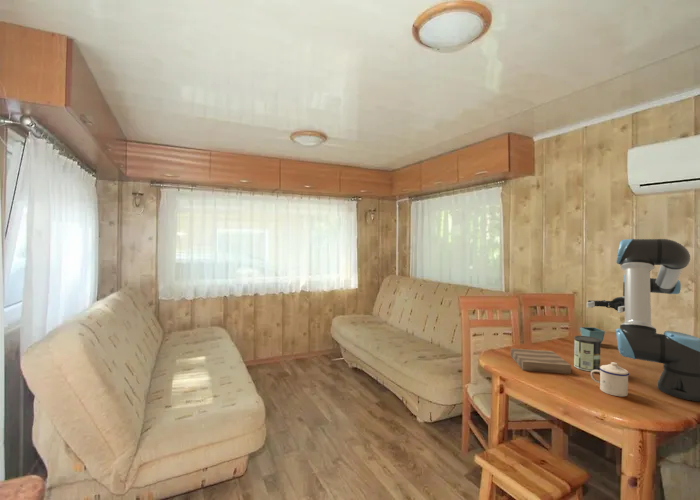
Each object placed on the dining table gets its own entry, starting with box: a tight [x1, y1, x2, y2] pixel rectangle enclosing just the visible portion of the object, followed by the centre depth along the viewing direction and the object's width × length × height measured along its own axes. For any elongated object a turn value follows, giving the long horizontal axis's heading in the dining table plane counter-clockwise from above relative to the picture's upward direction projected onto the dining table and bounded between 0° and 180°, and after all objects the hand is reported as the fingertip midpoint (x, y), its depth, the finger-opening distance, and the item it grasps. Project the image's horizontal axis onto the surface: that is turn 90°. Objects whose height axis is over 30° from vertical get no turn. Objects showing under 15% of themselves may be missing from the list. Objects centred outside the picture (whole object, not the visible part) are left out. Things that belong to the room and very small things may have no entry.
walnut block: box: [510, 348, 572, 375], centre depth 159 cm, size 20×20×4 cm
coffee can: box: [573, 335, 602, 373], centre depth 155 cm, size 10×10×14 cm
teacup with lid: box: [590, 361, 630, 398], centre depth 130 cm, size 12×9×12 cm
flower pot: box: [580, 326, 606, 343], centre depth 193 cm, size 9×9×9 cm
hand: (602, 307), depth 162 cm, fingers open, 13 cm apart
